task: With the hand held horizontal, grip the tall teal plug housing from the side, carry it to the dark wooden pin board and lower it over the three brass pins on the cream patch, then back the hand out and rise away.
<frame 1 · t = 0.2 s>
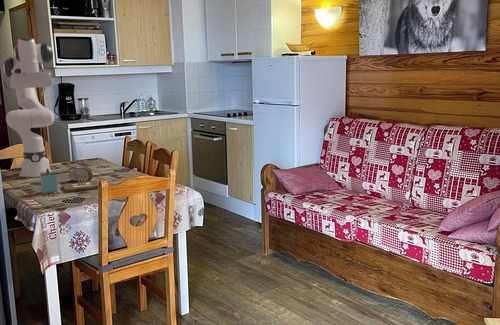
hand: (33, 96, 263), 48 cm above the table, tool pointing down, fingers open, 8 cm apart
tin: (80, 181, 280), on the table
housing: (49, 191, 258), on the table
pin board: (82, 187, 265), on the table
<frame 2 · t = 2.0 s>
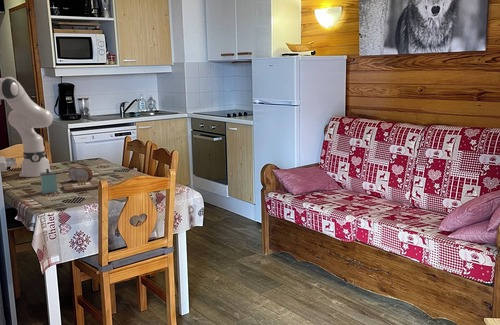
hand: (16, 161, 248), 17 cm above the table, tool horizontal, fingers open, 8 cm apart
nothing on the table moved.
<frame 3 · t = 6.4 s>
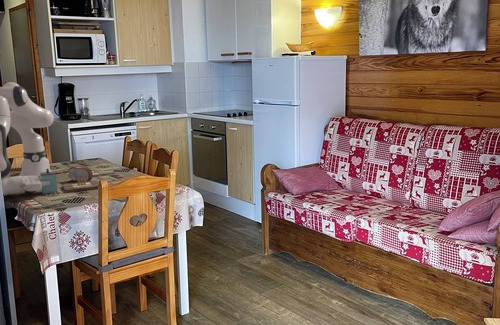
hand: (49, 181, 257), 6 cm above the table, tool horizontal, fingers closed on housing, 5 cm apart
housing: (49, 191, 258), on the table, touching gripper
everything else where it was.
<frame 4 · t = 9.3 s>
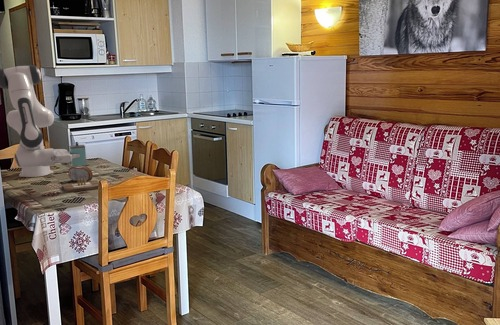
hand: (78, 154, 262), 18 cm above the table, tool horizontal, fingers closed on housing, 5 cm apart
housing: (78, 164, 262), point 12 cm above the table, touching gripper
everything else where it was.
when the fingers open (7 cm above the table, at t = 12.4 s): housing stays where it is, resting on pin board.
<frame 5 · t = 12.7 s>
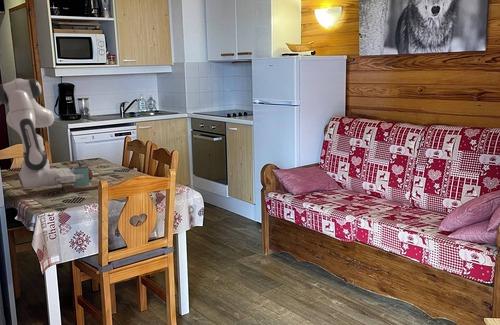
hand: (81, 173, 264), 7 cm above the table, tool horizontal, fingers open, 8 cm apart
housing: (81, 184, 265), point 2 cm above the table, touching pin board
everything else where it was.
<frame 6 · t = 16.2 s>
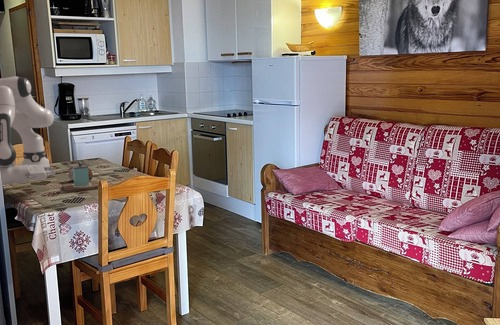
hand: (54, 170, 258), 11 cm above the table, tool horizontal, fingers open, 8 cm apart
nothing on the table moved.
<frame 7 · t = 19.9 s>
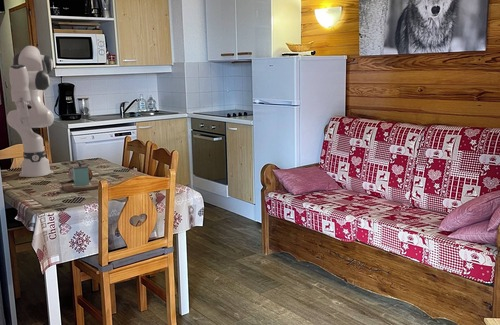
hand: (24, 124, 256), 34 cm above the table, tool pointing down, fingers open, 8 cm apart
nothing on the table moved.
at the end: housing 0.0 cm off-centre on the pin board, point 1.6 cm above the pin board's base; housing tilted 0°; the gripper is holding nothing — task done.
